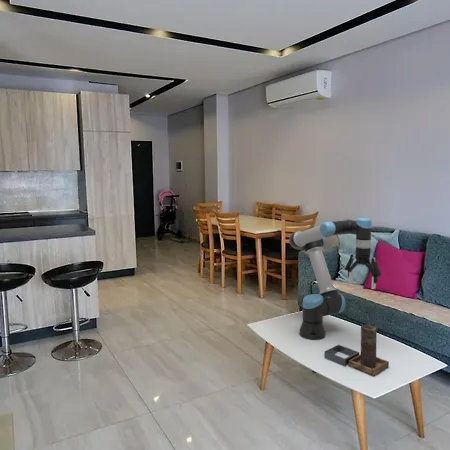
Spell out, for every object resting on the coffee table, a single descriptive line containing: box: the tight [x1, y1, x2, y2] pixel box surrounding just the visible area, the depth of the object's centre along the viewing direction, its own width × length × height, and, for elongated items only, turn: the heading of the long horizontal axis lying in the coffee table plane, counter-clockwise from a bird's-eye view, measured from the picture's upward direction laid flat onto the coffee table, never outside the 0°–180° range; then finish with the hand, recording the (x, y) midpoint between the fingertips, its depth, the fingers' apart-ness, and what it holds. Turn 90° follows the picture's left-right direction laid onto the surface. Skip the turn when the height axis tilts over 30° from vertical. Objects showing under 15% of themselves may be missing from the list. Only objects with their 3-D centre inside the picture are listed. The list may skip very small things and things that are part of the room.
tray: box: [348, 353, 390, 377], centre depth 197 cm, size 14×14×3 cm
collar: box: [323, 344, 360, 367], centre depth 206 cm, size 12×12×4 cm
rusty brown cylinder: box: [360, 324, 378, 368], centre depth 196 cm, size 8×7×20 cm
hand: (362, 286), depth 215 cm, fingers open, 13 cm apart
